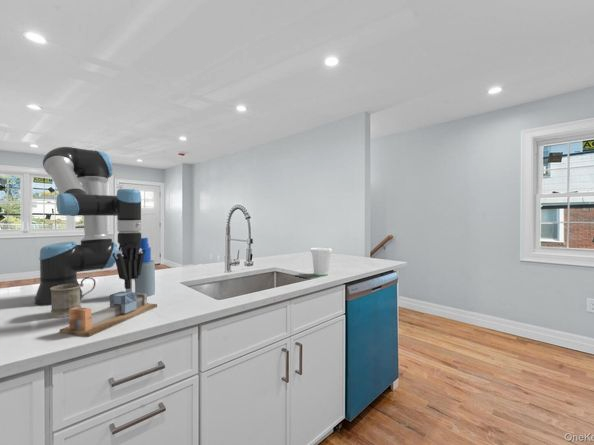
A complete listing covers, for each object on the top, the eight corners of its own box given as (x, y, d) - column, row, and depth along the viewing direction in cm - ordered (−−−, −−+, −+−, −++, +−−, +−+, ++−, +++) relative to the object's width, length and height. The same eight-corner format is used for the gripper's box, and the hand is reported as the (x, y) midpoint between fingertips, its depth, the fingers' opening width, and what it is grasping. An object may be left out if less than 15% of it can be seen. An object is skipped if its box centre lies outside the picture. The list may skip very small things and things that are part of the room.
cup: (332, 276, 166) (332, 250, 166) (310, 276, 166) (310, 249, 166) (330, 272, 179) (330, 247, 178) (310, 272, 179) (310, 247, 178)
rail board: (59, 332, 87) (59, 309, 87) (133, 304, 114) (132, 286, 114) (89, 336, 85) (88, 312, 84) (157, 306, 112) (156, 288, 112)
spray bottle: (145, 290, 135) (145, 236, 134) (159, 293, 131) (158, 237, 130) (127, 295, 126) (126, 238, 126) (141, 298, 123) (140, 239, 122)
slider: (109, 312, 101) (109, 294, 101) (121, 307, 106) (121, 291, 106) (125, 313, 100) (124, 296, 100) (136, 309, 105) (136, 292, 105)
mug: (55, 320, 98) (54, 284, 97) (43, 314, 103) (42, 280, 102) (102, 308, 110) (101, 276, 109) (89, 304, 115) (89, 273, 115)
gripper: (123, 233, 98) (124, 302, 99) (151, 231, 111) (152, 292, 112) (105, 233, 100) (106, 301, 101) (134, 230, 113) (135, 291, 113)
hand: (130, 296), depth 106 cm, fingers closed
